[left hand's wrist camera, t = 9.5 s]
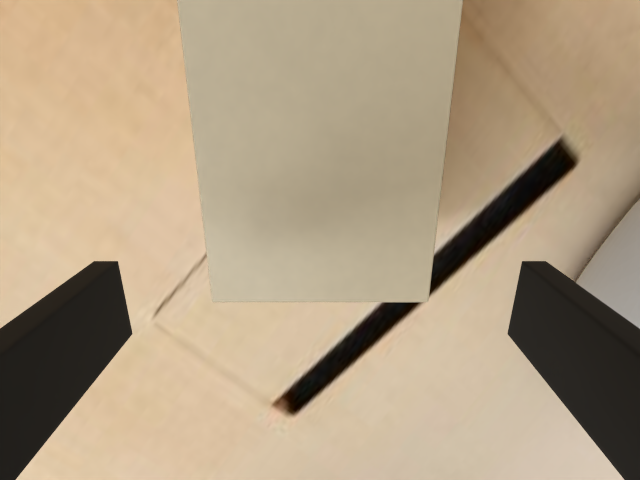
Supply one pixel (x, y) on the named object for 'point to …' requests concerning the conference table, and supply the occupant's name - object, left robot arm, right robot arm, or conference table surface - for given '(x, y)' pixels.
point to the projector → (618, 268)
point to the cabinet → (320, 143)
